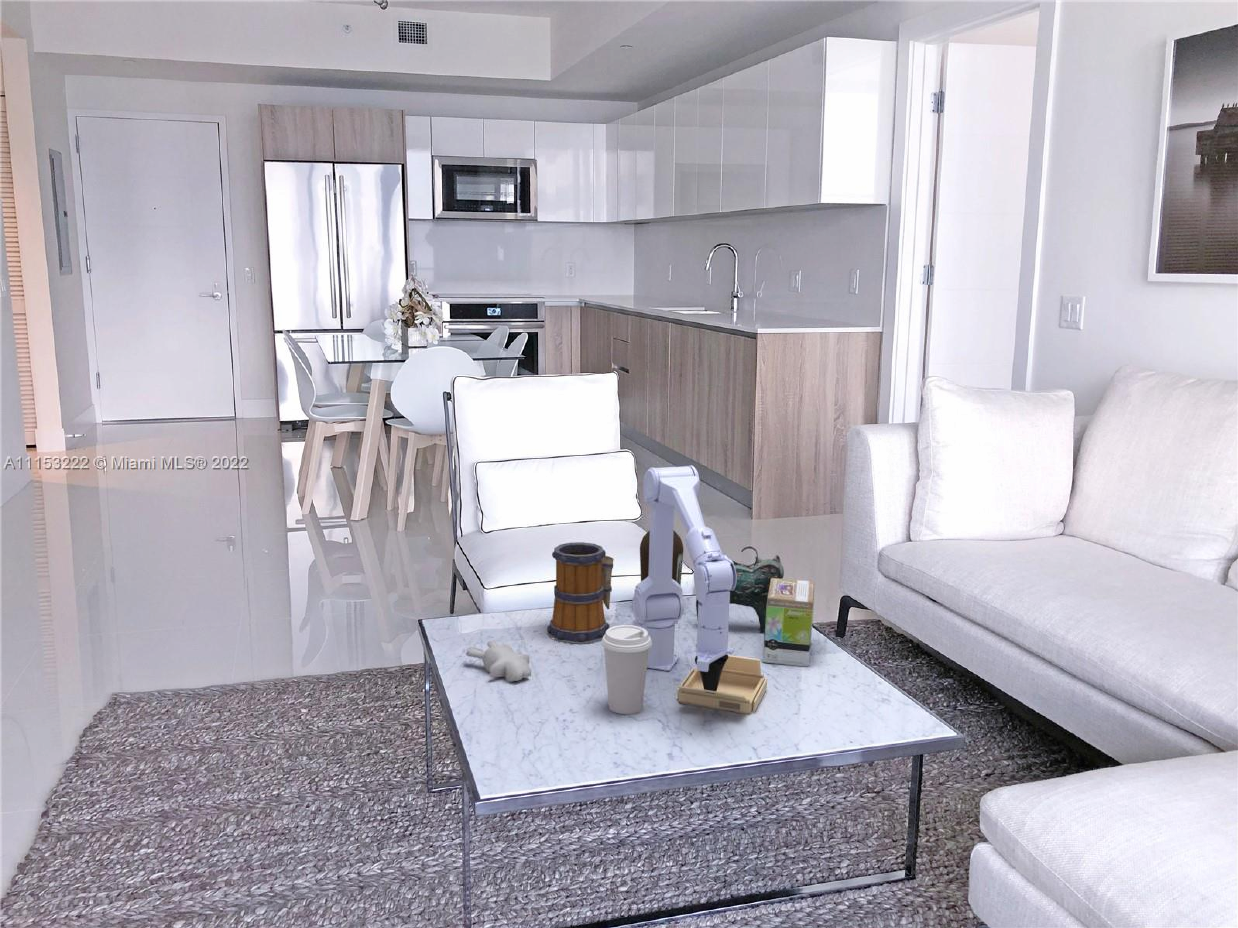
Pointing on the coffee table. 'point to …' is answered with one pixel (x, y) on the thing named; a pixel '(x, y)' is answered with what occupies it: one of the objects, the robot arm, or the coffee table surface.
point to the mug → (580, 593)
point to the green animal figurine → (754, 585)
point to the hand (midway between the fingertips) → (710, 692)
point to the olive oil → (675, 562)
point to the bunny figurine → (502, 661)
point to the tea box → (789, 622)
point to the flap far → (743, 664)
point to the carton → (726, 691)
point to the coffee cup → (626, 667)
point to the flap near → (718, 694)
